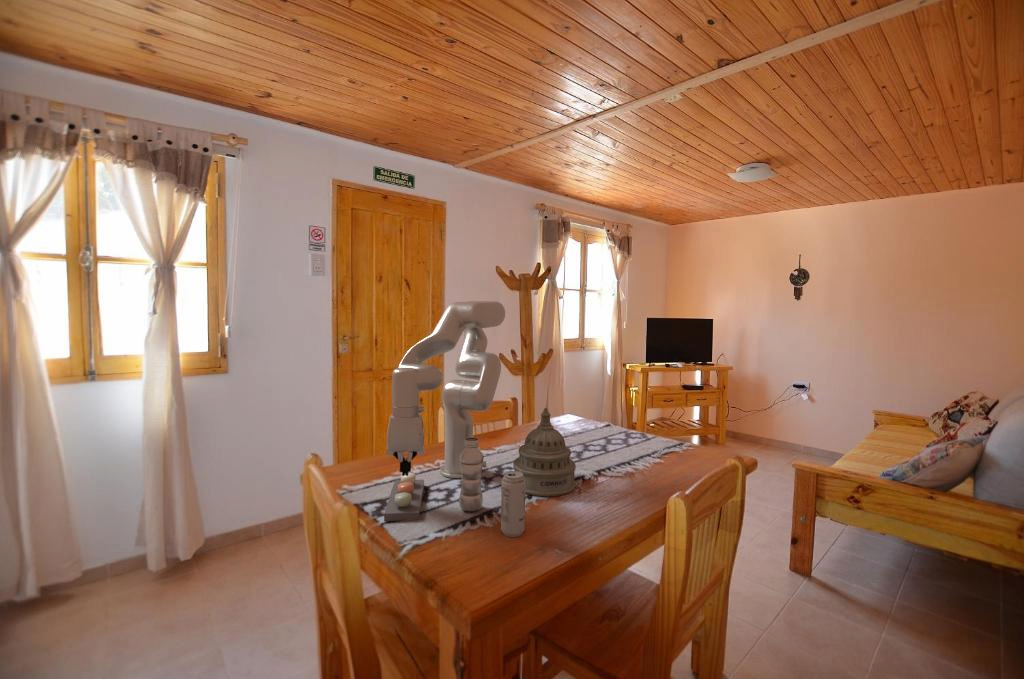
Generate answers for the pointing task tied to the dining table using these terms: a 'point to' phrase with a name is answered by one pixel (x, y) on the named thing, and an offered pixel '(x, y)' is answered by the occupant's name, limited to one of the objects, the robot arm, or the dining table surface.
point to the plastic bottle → (471, 476)
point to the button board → (405, 511)
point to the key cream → (409, 478)
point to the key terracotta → (406, 487)
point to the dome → (546, 461)
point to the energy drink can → (513, 504)
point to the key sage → (403, 499)
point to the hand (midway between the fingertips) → (405, 474)
